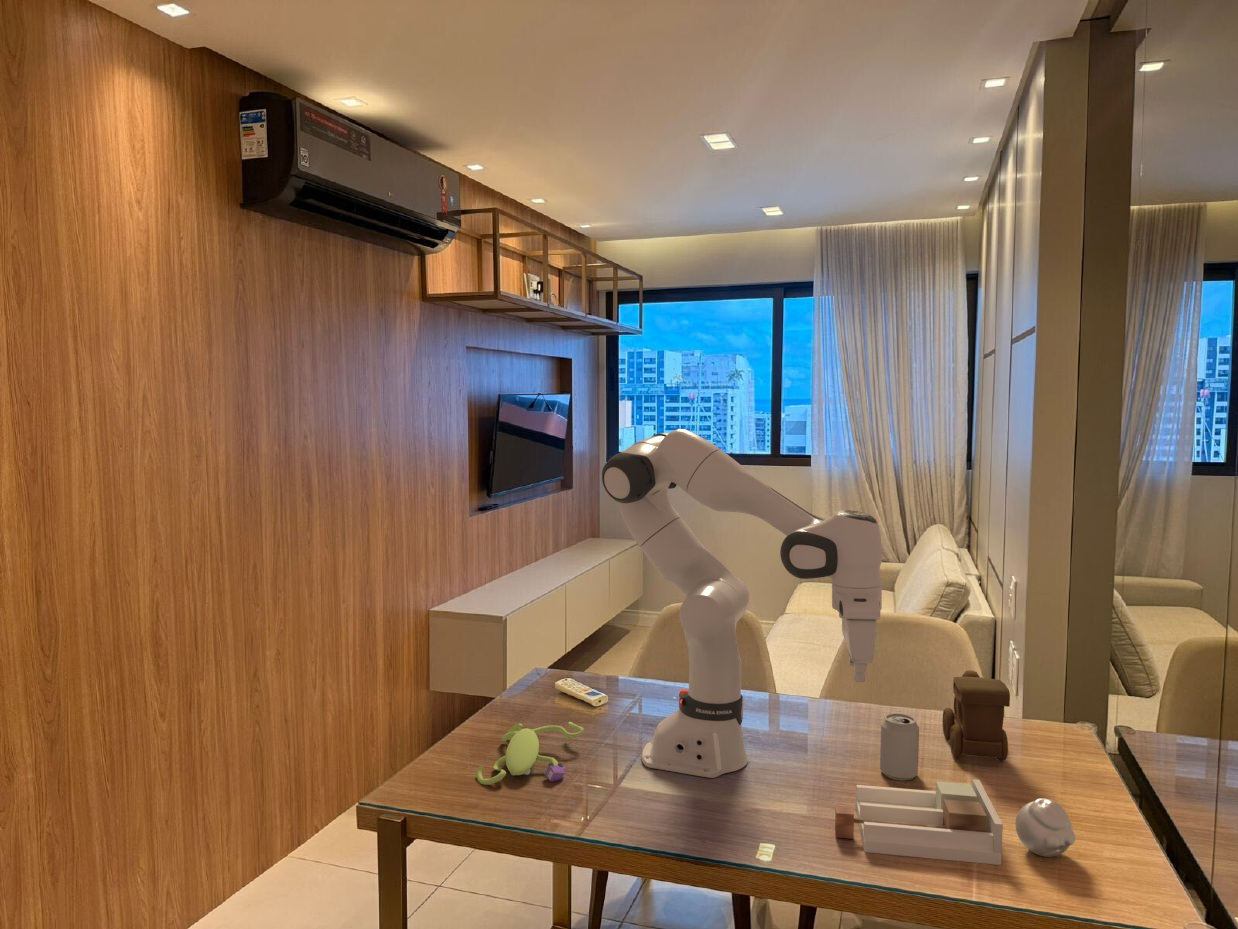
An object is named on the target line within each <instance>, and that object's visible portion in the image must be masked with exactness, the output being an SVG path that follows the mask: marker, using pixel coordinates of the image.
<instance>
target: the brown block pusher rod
mask: <svg viewBox="0 0 1238 929" xmlns="http://www.w3.org/2000/svg"><path fill="white" fill-rule="evenodd" d="M834 810H835V811H834V814H835V816H834V818H835V819H834V832H835V834H834V835H835V838H840V839H841V838H842V839H853V840H854V831H855V830H854V829H855V828H854V826H855V824H859V823H863V824H864V822H874V823H885V824H897V825H908V826H919V827H931V828H942V829H953V830H964V831H976V832H986V817H987V816H986V814H985V812H984V810H983V808H982V806H981V804H980V802H971V801H959V800H947V799H944V802H943V826H934V825H922V824H911V823H900V822H888V821H877V820H866V819H858V818H855V813H854V807H848V806H847V807H845V806H835V808H834Z"/></svg>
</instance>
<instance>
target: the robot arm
mask: <svg viewBox="0 0 1238 929" xmlns="http://www.w3.org/2000/svg"><path fill="white" fill-rule="evenodd" d="M601 482H602V485H603V488H604V490H605V492H606V493H607V494H608V496H609V497H611V499H612V500H614V501H616V502H618V503H620V505H619V513H620V516H621V517H622V520H623V522H624V524H625V526H626V528H627V531H628V532H629V533H630V535H631V537H632V538H633V539H634V541H635V543H636V544H637V545H638V547H639V548H640V550H641V551H642V553H644V555H645V556H646V558H647V559H648V560H649V562H650V563H651V564H652V565H653V567H654V568H655V570H656V571H657V572H658V574H659V575H660V576H661V577H662V578H663V579H664V580H667V581H668V582H670V583H671V584H672V585H674V586H675V587H676V588H678V590H680V591H681V592H682V593H683V595H685V597H684V599H683V601H682V603H681V606H680V609H679V616H678V618H679V623H680V625H681V627H682V629H683V631H684V636H685V643H686V648H687V653H688V689H687V688H685V687H682V688H681V689H680V690H679V693H678V698H679V699H678V708H679V709H677V710H676V711H675V712H673V713H671V714H670V715H669V716H667V717H665V718H664V719H662V720H661V721H660V722H659V724H658V725H657V726H656V728H655V730H654V734H653V736H652V737H653V738H652V740H650V741H648V742H647V743H646V744H645V745H644V747H643V749H642V754H641V761H642V763H643V764H644V766H645V767H646V768H651V769H657V770H662V771H667V772H673V773H680V774H686V775H692V776H698V777H704V778H709V779H714V778H717V777H720V776H721V775H723V774H727V773H732V772H736V771H739V770H741V769H743V768H744V767H745V766H747V764H748V761H749V760H748V756H747V753H746V747H745V742H744V736H743V726H742V723H743V720H744V698H743V694H742V659H741V655H740V653H739V648H738V643H737V634H736V632H737V631H736V629H737V624H738V622H739V621H740V619H741V618H742V617H744V615H745V613H747V612H746V611H747V609H748V606H749V603H750V602H749V600H750V594H749V593H750V592H749V589H748V587H747V585H746V583H745V581H743V579H741V578H740V577H738V576H737V575H735V574H733V573H732V572H731V571H730V570H729V569H728V568H727V567H726V566H725V565H724V564H723V563H722V561H720V560H719V559H717V557H715V555H714V554H712V553H711V552H710V550H708V549H707V548H706V547H705V546H704V545H703V543H702V542H701V541H700V540H699V538H698V537H697V536H696V535H695V534H694V532H693V531H692V529H691V528H690V527H689V525H688V524H687V523H686V521H685V520H684V519H683V518H682V517H681V515H680V514H679V512H678V511H677V509H675V507H674V506H673V505H672V503H671V502H670V500H669V496H668V490H669V489H675V488H677V486H678V487H679V488H680V489H681V490H683V491H684V492H685V493H686V494H688V495H689V496H690V497H691V498H692V499H694V500H696V502H699V503H700V504H702V505H703V506H706V507H707V508H709V509H712V510H714V511H717V512H724V513H725V512H726V513H738V514H739V513H740V514H746V515H750V516H751V515H752V516H753V517H756V518H758V519H761V520H763V521H764V522H766V523H768V524H769V525H771V527H773V528H775V529H777V531H779V532H781V533H782V534H783V535H785V536H786V537H785V538H784V539H783V540H782V543H781V546H780V550H779V551H780V553H779V555H780V556H779V557H780V560H781V563H782V565H783V567H784V568H785V570H786V571H787V572H788V573H789V574H790V575H791V576H793V577H795V578H797V579H803V580H813V579H822V578H826V577H827V578H830V579H831V607H832V609H834V610H835V611H836V612H838V616H839V618H841V632H842V636H843V640H844V641H845V644H846V647H847V650H848V663H849V665H850V667H854V668H853V676H854V677H853V678H854V681H855V682H856V683H865V682H866V672H867V668H868V667H867V666H868V664H871V663H873V661H874V658H875V653H876V651H875V650H876V642H877V641H876V640H877V629H878V627H877V626H878V625H877V624H878V621H877V620H880V619H881V610H882V609H883V608H882V606H883V605H882V603H883V602H882V601H883V599H882V598H883V597H882V596H883V594H882V593H883V592H882V591H883V590H882V586H883V585H882V584H883V583H882V582H883V581H882V579H881V575H880V571H881V570H880V569H881V565H882V561H883V559H882V557H883V556H882V553H883V552H882V536H881V530H880V526H879V522H878V520H877V518H874V516H873V515H871V514H868V513H867V512H861V511H858V510H853V509H851V510H848V509H841V510H838V511H836V512H835V513H834V514H832V515H831V516H830V517H828V518H825V517H820V516H818V515H814V514H812V513H810V512H808V511H807V510H806V509H804V508H803V507H801V506H799V505H798V504H796V503H795V502H794V501H792V500H791V499H790V498H788V497H786V496H784V495H783V494H782V493H780V492H778V491H777V490H775V489H774V488H772V487H770V486H769V485H768V484H766V483H765V482H763V481H762V480H761V479H760V478H759V477H757V476H755V475H754V474H752V473H751V472H750V471H749V470H748V469H746V468H745V467H744V466H743V465H741V464H740V462H738V461H736V460H735V459H734V458H733V457H731V456H730V455H729V454H727V453H726V452H725V451H723V450H722V449H721V448H720V447H718V446H717V445H715V444H713V443H712V442H710V441H709V440H707V439H705V438H704V437H702V436H700V435H699V434H696V433H694V432H691V431H690V430H688V429H682V428H678V429H674V430H672V431H670V432H662V433H656V434H654V435H652V436H650V437H647V438H644V439H641V440H639V441H637V442H635V443H633V444H632V445H631V446H629V447H627V448H626V449H624V450H623V451H621V452H619V453H616V454H614V455H613V456H611V458H609V460H607V461H606V463H605V464H604V466H603V468H602V470H601Z"/></svg>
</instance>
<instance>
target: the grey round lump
mask: <svg viewBox="0 0 1238 929" xmlns="http://www.w3.org/2000/svg"><path fill="white" fill-rule="evenodd" d="M1014 824H1015V832H1016V834H1017V837H1018V839H1019V841H1020V842H1021V844H1023V846H1024V847H1025V848H1027V849H1028V850H1029V851H1030V852H1032V853H1033V854H1035V855H1038V856H1039V857H1040V856H1041V857H1045V858H1047V857H1048V858H1053V857H1057V856H1060V855H1062V854H1063V853H1065V852H1066V851H1067V850H1068V849H1069V848H1070V846H1072V845H1074V844H1075V842H1076V834H1075V832H1074V829H1073V825H1072V822H1071V820H1070V818H1069V814H1067V812H1066V811H1065V809H1064V808H1063V806H1062V805H1061V804H1059V802H1057V801H1055V800H1053V799H1050V798H1044V797H1043V798H1037V799H1036V800H1033V801H1030V802H1028V803H1025V804H1024V805H1023V806H1022V807H1020V809H1019V810H1018V812H1017V814H1016V817H1015V823H1014Z"/></svg>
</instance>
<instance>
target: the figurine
mask: <svg viewBox="0 0 1238 929" xmlns="http://www.w3.org/2000/svg"><path fill="white" fill-rule="evenodd" d="M523 726H524V725H523V723H516V724H515V725H513V726H512V727H510V729H508V731H507V732H506V734H504V735H502V736H501V742H507V741H509V743H508V745H507V748H506V751H505V755H504V756H501V757H500V758H499V759H497V760H496V761H495V763H494V764H493V768H492V769H493V770H495V771H500V772H499V773H498V774H497V775H495V776H493V777H491V778H484V777H483V771H484V766H483V765H479V766H478V767H477V771H476V779H477V782H479V784H480V785H481V784H482V785H483V786H484V785H485V786H490V785H494V784H496V783H498V782H500V781H501V780H503V778H505V776H506V775H507V772H506V770H504V769H502V768H500V767H501V766H502V765H503V764H504V763H505V766H506V767H507V769H508V771H509V772H510V775H511V776H513V777H515V776H521V775H525V776H530V774H531V768H532V767H533V765H534V764H535V762H536V761H537V762H548V767H547V769H546V770H545V772H543V774H544V775H545V777H546V778H547V779H548V781H549V782H555V781H559V780H562V778H563V777H564V775H565V771H566V766H565V765H564V764H563V763H561V762H558V761H557V760H556V759H555V757H552V756H551V757H550V756H544V755H541V754H539V750H540V749H539V748H540V743H539V742H540V741H539V737H538V736H537V734H540V733H541V734H542V733H545V732H559V733H561V734H562V735H563V737H566V738H567V739H575V738H576V739H577V737H580V735H582V734H583V732H584V731H585V730H584V727H583V726H580V725H578V724H575V723H573V721H568V722H567V726H568V727H569V728H570V729H573V730H574V731H578V732H568V731H567V730H566V728H564V727H563V726H560V725H553V724H551V725H545V726H540V727H537V728H532V729H531V728H527V727H526V728H523Z"/></svg>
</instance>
